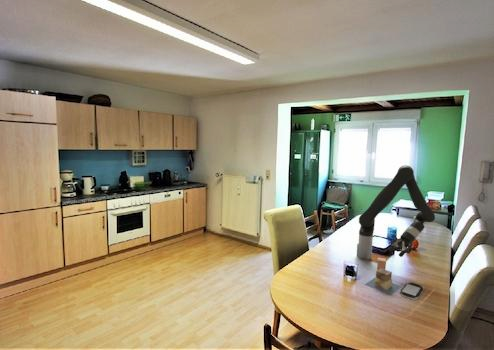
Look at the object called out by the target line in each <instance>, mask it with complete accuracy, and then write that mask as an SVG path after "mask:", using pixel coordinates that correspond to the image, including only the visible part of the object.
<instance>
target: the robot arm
mask: <svg viewBox="0 0 494 350" xmlns="http://www.w3.org/2000/svg"><path fill="white" fill-rule="evenodd" d="M404 186H406V188H407V191H408V194H409V196H410V199H411V202H412V204H413V206H414V208H415V209H416V210H419V212H418V213H417V214H416V215H415V217H414V219H413V221H412V223H411V224H410V225H409V226H408V227H407V228H406V229H405V230H404V231H403V233H402V234H401V235H400V238H397V237H396V236H395V237H394V238H393V239H392V240H391V241H390V242H389V244H390V246H389V247H388V251H389V252H390V253H392V251H394V249H395V248H402V250H401V251H400V252H399V254H398V256H399V257H400V258H402V257H404V255H405V254H410V253H411V252H412V251H413V250H414V248H415V245H413V243H414V242H415V241H416V240H417V238H418V237H419V235H420V234H421V232H423V231H424V230H425V227H426V226H425V223H433V222H434V221H435V219H436V215H435V213H434V211H433V210H432V208H431V207H430V206H429V205H428V203H427V201H426V200H425V197H424V194H423V193H422V191H421V190H420V187H419V185H418V183H417V181H416V178H415V173H414V168H413V167H412V166H410V165H406V164H405V165H401V166H400V167H399V168H398V170H397V172H396V174H395V175H394V177H393V178H392V179H391V181H390V182H389V183H388V184H387V185H386V186H384V187H383V188H382V189H381V190H380V191H379V193H378V194H377V195H376V196H375V198H374V200H373V201H372V202H371V204H370V206H369V207H368V208H367V209H366V210H365V211H364V212H363V213H362V214H360V216H359V217H358V223H359V225H360V228H359V229H358V230H359V231H358V242H357V245H356V257H358V258H359V259H362V260H371V259H372V255H373V252H372V251H373V237H374V232H375V224H376V223H375V222H376V221H375V219H376V218H377V216H378V215H379V214H380V213H381V212H382V211H383V210H384V209H385V208H386V207H388V206H389V205H390V203H392V201H393V200H394V199H395V197H396V196H397V195H398V194H399V192H400V190H401V189H402V188H403V187H404Z"/></svg>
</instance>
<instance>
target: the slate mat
mask: <svg viewBox="0 0 494 350" xmlns="http://www.w3.org/2000/svg"><path fill="white" fill-rule="evenodd" d="M374 282H375V277H374V278H372V279H371V280H369V281H367V282H366V283H365V284H364V285H365V286H367V287H369V288H372V289H374V290H377V291H379V292H382V293H384V294H386V295H389V296H392V295H393V294H395V293H396V292H397V291H400V290H401V289H402V288H403V286H402V285H399V284H397V283H394V282H392V286H391V287H390V288H389V289H387V290H385V289H383V288H380V287H378V286H375V285H374Z"/></svg>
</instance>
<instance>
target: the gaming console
mask: <svg viewBox="0 0 494 350" xmlns="http://www.w3.org/2000/svg"><path fill="white" fill-rule="evenodd" d="M424 289H425V288H424V287H423V286H422V285H420V284H417V283H414V282H408V283H405V284H404V286H402V287H401V288H400V290H399V294H400V295H401V297H404V298H406V299H409V300H414V301H416V300H419V298H420V297H421V295H422V293H423V292H424Z"/></svg>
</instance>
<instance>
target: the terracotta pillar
mask: <svg viewBox="0 0 494 350" xmlns="http://www.w3.org/2000/svg"><path fill="white" fill-rule="evenodd" d="M386 265H387V258H384V257H377V265H376V271H378V270H379V269H381V268H382V269H384V270H387V269H386Z"/></svg>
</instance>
